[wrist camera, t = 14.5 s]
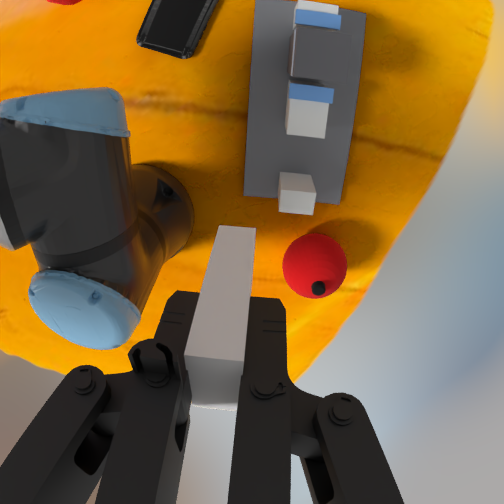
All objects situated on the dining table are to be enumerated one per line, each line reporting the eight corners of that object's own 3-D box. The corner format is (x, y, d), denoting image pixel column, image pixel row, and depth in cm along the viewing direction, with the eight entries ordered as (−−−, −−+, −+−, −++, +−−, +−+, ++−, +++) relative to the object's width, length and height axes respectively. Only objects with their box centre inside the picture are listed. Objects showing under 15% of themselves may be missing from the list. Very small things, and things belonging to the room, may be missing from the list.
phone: (133, 44, 32) (180, -55, 24) (137, 44, 33) (183, -53, 25) (189, 61, 33) (240, -41, 26) (191, 61, 34) (241, -38, 26)
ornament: (279, 223, 46) (281, 264, 38) (342, 220, 45) (357, 260, 37) (283, 273, 51) (284, 319, 43) (339, 270, 50) (350, 315, 42)
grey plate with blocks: (244, 192, 44) (238, 219, 37) (256, 0, 29) (252, -14, 23) (338, 201, 44) (349, 229, 37) (363, 14, 29) (384, 6, 23)
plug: (286, 72, 34) (292, 77, 24) (289, 36, 31) (297, 26, 21) (325, 77, 34) (347, 84, 24) (328, 41, 31) (352, 34, 21)
